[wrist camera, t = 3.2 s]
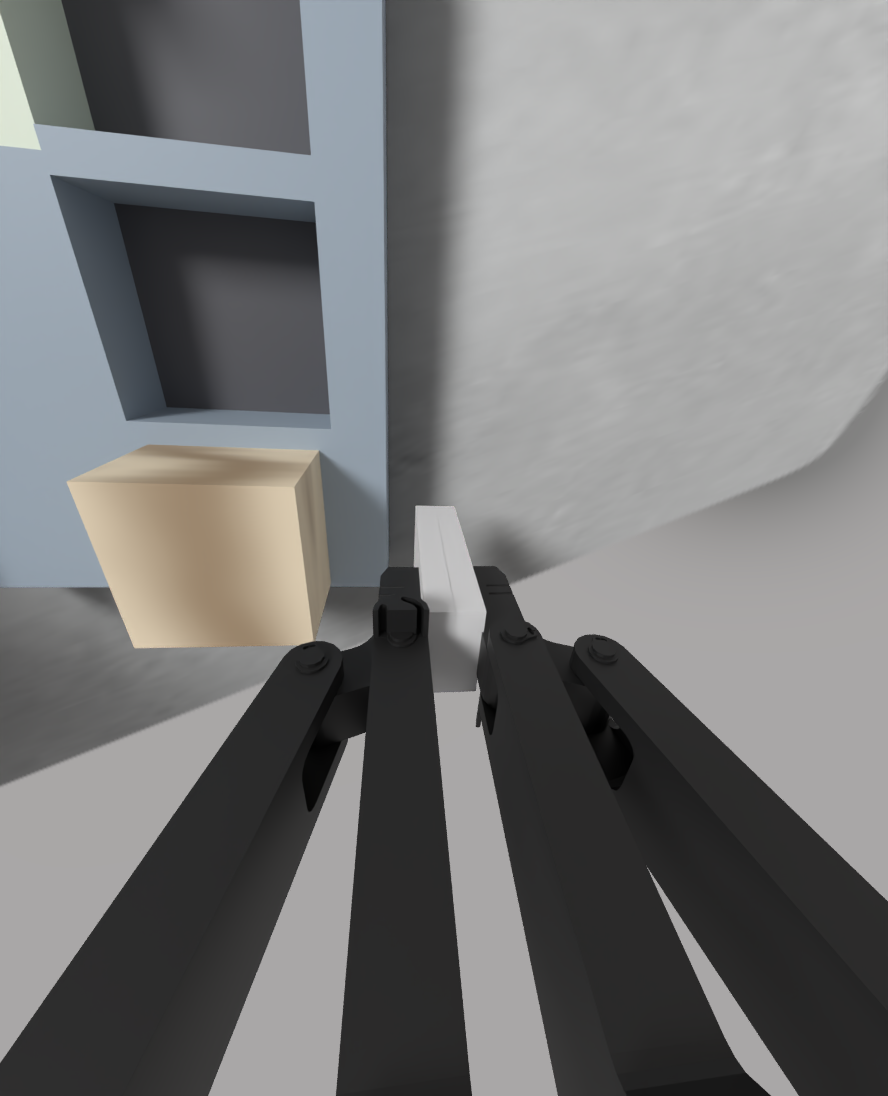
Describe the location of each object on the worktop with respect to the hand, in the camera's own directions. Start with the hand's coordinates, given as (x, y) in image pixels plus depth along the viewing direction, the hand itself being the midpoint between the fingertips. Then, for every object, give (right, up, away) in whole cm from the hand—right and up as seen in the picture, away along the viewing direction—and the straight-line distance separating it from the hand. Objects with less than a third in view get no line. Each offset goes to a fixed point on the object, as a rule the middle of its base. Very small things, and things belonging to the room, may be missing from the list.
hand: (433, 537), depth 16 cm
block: (-7, +1, 0) cm, 8 cm away
